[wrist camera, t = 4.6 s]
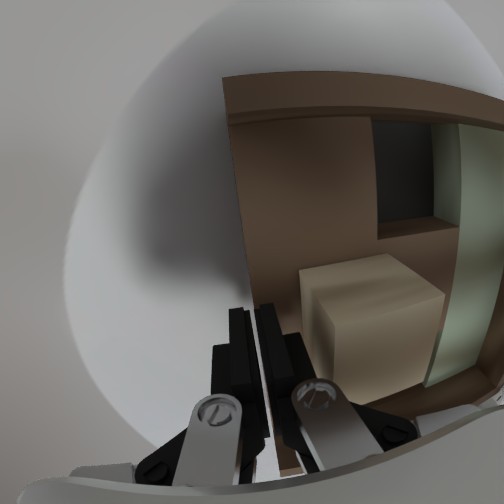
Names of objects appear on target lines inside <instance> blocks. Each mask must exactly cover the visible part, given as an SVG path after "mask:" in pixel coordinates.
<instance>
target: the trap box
mask: <svg viewBox="0 0 504 504" xmlns="http://www.w3.org/2000/svg"><path fill="white" fill-rule="evenodd" d="M222 81H223V90H224V99H225V108H226V115H227V123H228V130H229V137H230V144H231V151H232V158H233V165H234V173H235V180H236V187H237V194H238V201H239V208H240V215H241V222H242V228H243V235H244V242H245V249H246V256H247V263H248V270H249V276H250V283H251V290H252V297H253V303H254V309H258V308H259V304H265V303H271V302H273V304H274V307H275V310H276V314H277V317H278V321H279V324H280V327H281V331H282V334H283V335H284V334H290V333H295V332H300V334H301V336H302V339H303V321H302V304H301V290H300V276H299V270H302V269H308V268H313V267H319V266H324V265H329V264H335V263H340V262H345V261H351V260H356V259H361V258H366V257H371V256H376V255H381V254H386V253H388V254H389V255H391V256H392V257H394V258H395V259H397V260H398V261H400V262H401V263H402V264H404V265H405V266H407V267H408V268H410V269H411V270H413V271H414V272H415V273H417V274H418V275H420V276H421V277H423V278H424V279H425V280H427V281H428V282H429V283H431V284H432V285H434V286H435V287H436V288H438V289H439V290H440V291H442V292H443V293H444V294H445V299H444V304H443V309H442V314H441V319H440V323H439V328H438V332H437V336H436V340H435V344H434V347H433V351H432V355H431V358H430V362H429V365H428V368H427V371H426V375H425V378H424V381H423V382H421V383H418V384H416V385H414V386H411V387H409V388H407V389H404V390H402V391H399V392H397V393H394V394H391V395H389V396H386V397H383V398H380V399H378V400H375V401H372V402H369V403H366V404H363V406H366V407H369V408H372V409H375V410H378V411H382V412H385V413H388V414H392V415H395V416H399V417H402V418H405V419H407V420H409V421H411V420H415V418H416V417H417V416H421V415H426V414H430V413H435V412H439V411H443V410H447V409H450V408H454V407H458V406H461V405H467V404H471V405H475V406H479V405H480V404H482V403H483V402H485V401H487V400H488V399H490V398H491V397H493V396H494V395H496V394H497V393H499V392H500V390H501V388H502V386H503V384H504V101H503V100H500V99H497V98H494V97H491V96H488V95H484V94H481V93H477V92H474V91H470V90H466V89H462V88H458V87H454V86H450V85H445V84H441V83H436V82H430V81H425V80H419V79H413V78H406V77H399V76H391V75H382V74H372V73H359V72H339V71H293V72H273V73H259V74H249V75H239V76H231V77H224V78H222ZM303 341H304V339H303ZM261 357H262V356H261ZM262 363H263V362H262ZM263 370H264V368H263ZM264 376H265V374H264ZM265 383H266V380H265ZM266 389H267V386H266ZM267 396H268V392H267ZM268 402H269V397H268ZM269 409H270V403H269ZM270 415H271V409H270ZM271 421H272V427H273V434H274V440H275V446H276V452H277V458H278V464H279V470H280V476H281V477H285V476H291V475H296V474H302V473H304V471H303V469H302V467H301V465H300V462H299V460H298V458H297V456H296V452H295V450H293V449H291V448H289V447H287V446H285V445H284V443H283V441H282V436H281V435H280V436H275V432H274V426H273V420H272V415H271Z"/></svg>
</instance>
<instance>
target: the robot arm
mask: <svg viewBox="0 0 504 504" xmlns="http://www.w3.org/2000/svg"><path fill="white" fill-rule="evenodd" d="M254 314H255V320H256V326H257V332H258V338H259V344H260V350H261V356H262V362H263V368H264V374H265V380H266V386H267V392H268V397H269V403H270V409H271V415H272V420H273V426H274V432H275V436H280V435H281V436H282V441H283V443H284V445H285V446H287V447H289V448H291V449H293V450H295V452H296V456H297V458H298V460H299V462H300V465H301V467H302V469H303V471H304V474H305V475H302V476H297V477H292V478H286V479H280V480H274V481H267V482H259V483H255V478H256V465H257V459H256V456H257V455H258V454H259V453H260V452H261V451H262V450H263V449H264V446H265V440H264V438H268V437H270V432H269V426H268V420H267V413H266V407H265V401H264V394H263V388H262V381H261V375H260V369H259V363H258V357H257V351H256V346H255V340H254V334H253V328H252V323H251V317H250V311H249V310H246V311H244V309H243V307H240V308H234V309H229V343H228V344H220V345H214V346H213V353H212V375H211V395H210V396H207V397H205V398H203V399H202V400H200V401H199V402H198V403H197V404H196V405H195V407H194V409H193V411H192V415H191V418H190V422H189V425H188V427H187V428H186V429H185V430H183V431H182V432H181V433H179V434H178V435H177V436H175V437H174V438H173V439H171V440H170V441H169V442H167V443H166V444H164V445H163V446H162V447H160V448H159V449H158V450H156V451H155V452H153V453H152V454H150V455H149V456H148V457H146V458H145V459H143V460H142V461H141V462H140V463H139V464H138V465H133V464H132V463H123V464H112V465H99V466H82V467H77V468H76V469H74V470H73V471H72V472H71V473H70V475H69V476H68V477H67V476H66V477H65V476H62V477H51V478H44V479H40V480H37V481H34V482H32V483H30V484H28V485H27V486H26V487H25V488H24V489H23V491H22V492H21V494H20V495H19V497H18V499H17V501H16V504H504V405H499V404H500V402H501V400H502V397H503V390H502V388H501V390H500V392H499V393H497V394H496V395H494V396H493V397H491V398H490V399H488V400H487V401H485V402H483V403H482V404H480V405H479V406H475V405H471V404H467V405H461V406H458V407H454V408H450V409H447V410H443V411H439V412H435V413H430V414H426V415H421V416H417V417H416V418H415V420H411V421H409V420H407V419H405V418H402V417H399V416H395V415H392V414H388V413H385V412H382V411H378V410H375V409H372V408H369V407H366V406H363V405H360V404H357V403H354V402H351V401H348V399H347V398H346V396H345V395H344V393H343V392H342V390H341V389H340V387H339V386H338V385H337V384H336V383H334V382H332V381H330V380H328V379H323V378H317V376H316V373H315V370H314V368H313V365H312V362H311V360H310V357H309V355H308V352H307V349H306V347H305V344H304V341H303V339H302V336H301V334H300V332H295V333H290V334H284V335H283V334H282V331H281V327H280V324H279V321H278V317H277V314H276V310H275V307H274V304H273V302H271V303H265V304H259V308H258V309H254Z"/></svg>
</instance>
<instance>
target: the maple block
mask: <svg viewBox="0 0 504 504" xmlns="http://www.w3.org/2000/svg"><path fill="white" fill-rule="evenodd" d="M299 276H300V290H301V304H302V321H303V339H304V344H305V347H306V349H307V352H308V355H309V357H310V360H311V362H312V365H313V368H314V370H315V373H316V376H317V378H323V379H328V380H330V381H332V382H334V383H336V384H337V385H338V386H339V387H340V389H341V390H342V392H343V393H344V395H345V396H346V398H347V399H348V401H351V402H354V403H357V404H360V405H363V404H366V403H369V402H372V401H375V400H378V399H380V398H383V397H386V396H389V395H391V394H394V393H397V392H399V391H402V390H404V389H407V388H409V387H411V386H414V385H416V384H418V383H421V382H423V381H424V378H425V375H426V371H427V368H428V365H429V362H430V358H431V355H432V351H433V347H434V344H435V340H436V336H437V332H438V328H439V323H440V319H441V314H442V309H443V304H444V299H445V294H444V293H443V292H442V291H440V290H439V289H438V288H436V287H435V286H434V285H432V284H431V283H429V282H428V281H427V280H425V279H424V278H423V277H421V276H420V275H418V274H417V273H415V272H414V271H413V270H411V269H410V268H408V267H407V266H405V265H404V264H402V263H401V262H400V261H398V260H397V259H395V258H394V257H392V256H391V255H389V254H388V253H386V254H381V255H376V256H371V257H366V258H361V259H356V260H351V261H345V262H340V263H335V264H329V265H324V266H319V267H313V268H308V269H302V270H299Z"/></svg>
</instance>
